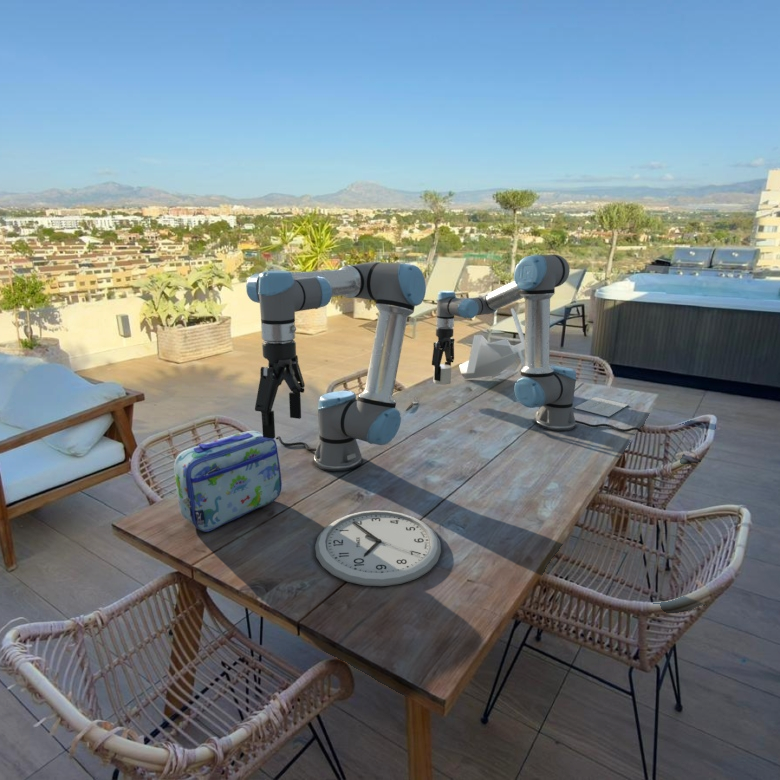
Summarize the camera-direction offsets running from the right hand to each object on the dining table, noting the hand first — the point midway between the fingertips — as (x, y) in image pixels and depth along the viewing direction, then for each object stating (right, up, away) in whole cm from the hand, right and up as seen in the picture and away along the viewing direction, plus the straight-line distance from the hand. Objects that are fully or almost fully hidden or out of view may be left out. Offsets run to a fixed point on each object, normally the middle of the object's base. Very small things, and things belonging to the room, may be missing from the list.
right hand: (442, 378), depth 232 cm
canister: (0, -2, +1) cm, 2 cm away
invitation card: (+68, -13, -6) cm, 70 cm away
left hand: (-49, -14, -106) cm, 118 cm away
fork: (-14, -12, -9) cm, 21 cm away
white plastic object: (+29, -3, +22) cm, 37 cm away
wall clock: (-26, -43, -107) cm, 118 cm away
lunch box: (-65, -38, -94) cm, 120 cm away
